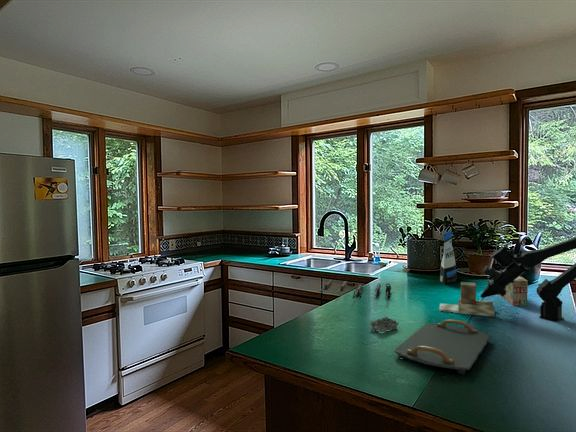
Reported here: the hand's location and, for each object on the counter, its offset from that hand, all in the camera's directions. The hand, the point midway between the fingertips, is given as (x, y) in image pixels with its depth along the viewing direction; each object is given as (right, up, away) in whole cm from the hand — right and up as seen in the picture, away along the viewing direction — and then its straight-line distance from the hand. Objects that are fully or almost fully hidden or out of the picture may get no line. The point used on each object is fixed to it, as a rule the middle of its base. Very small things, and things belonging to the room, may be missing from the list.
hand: (481, 297), depth 165 cm
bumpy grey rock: (-48, -9, -18) cm, 52 cm away
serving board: (-33, -10, -39) cm, 52 cm away
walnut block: (-5, -5, +2) cm, 7 cm away
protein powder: (+13, -4, +64) cm, 65 cm away
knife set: (-49, -7, +32) cm, 59 cm away
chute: (-5, -7, +2) cm, 8 cm away
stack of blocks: (+25, -6, +19) cm, 32 cm away
